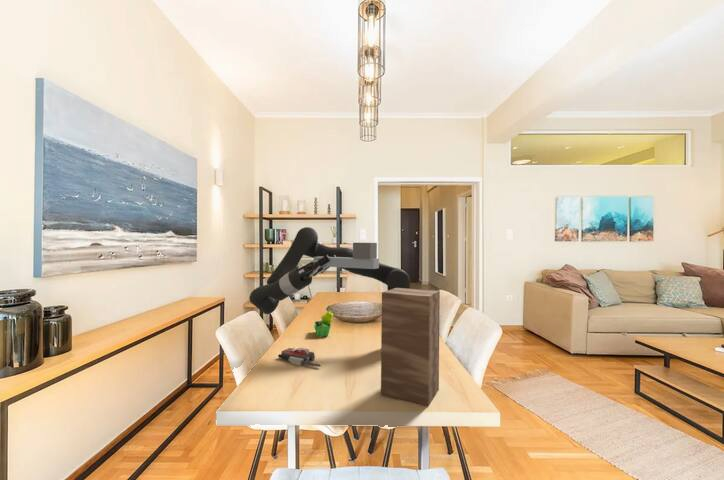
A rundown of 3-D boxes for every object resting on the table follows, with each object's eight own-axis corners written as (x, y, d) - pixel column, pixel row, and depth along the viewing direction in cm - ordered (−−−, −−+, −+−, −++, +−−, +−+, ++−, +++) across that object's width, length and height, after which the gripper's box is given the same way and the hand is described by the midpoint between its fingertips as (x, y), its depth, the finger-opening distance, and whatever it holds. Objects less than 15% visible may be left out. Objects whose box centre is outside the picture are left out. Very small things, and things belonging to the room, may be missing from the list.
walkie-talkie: (273, 361, 128) (318, 370, 119) (274, 349, 128) (318, 358, 119) (289, 354, 136) (331, 362, 127) (289, 343, 136) (332, 351, 127)
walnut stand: (395, 381, 110) (396, 287, 110) (438, 389, 104) (439, 290, 104) (380, 396, 99) (381, 292, 99) (428, 406, 93) (429, 296, 93)
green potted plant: (314, 331, 170) (314, 308, 170) (332, 331, 171) (332, 308, 171) (314, 337, 158) (314, 313, 158) (333, 337, 159) (333, 313, 159)
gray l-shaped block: (321, 265, 119) (321, 242, 119) (379, 268, 109) (379, 242, 109) (312, 266, 114) (313, 242, 114) (373, 269, 105) (373, 242, 105)
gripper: (278, 272, 115) (315, 247, 108) (303, 269, 128) (338, 247, 121) (286, 292, 113) (325, 269, 107) (311, 287, 126) (347, 266, 119)
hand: (331, 257), depth 114 cm, fingers closed on gray l-shaped block, 4 cm apart
